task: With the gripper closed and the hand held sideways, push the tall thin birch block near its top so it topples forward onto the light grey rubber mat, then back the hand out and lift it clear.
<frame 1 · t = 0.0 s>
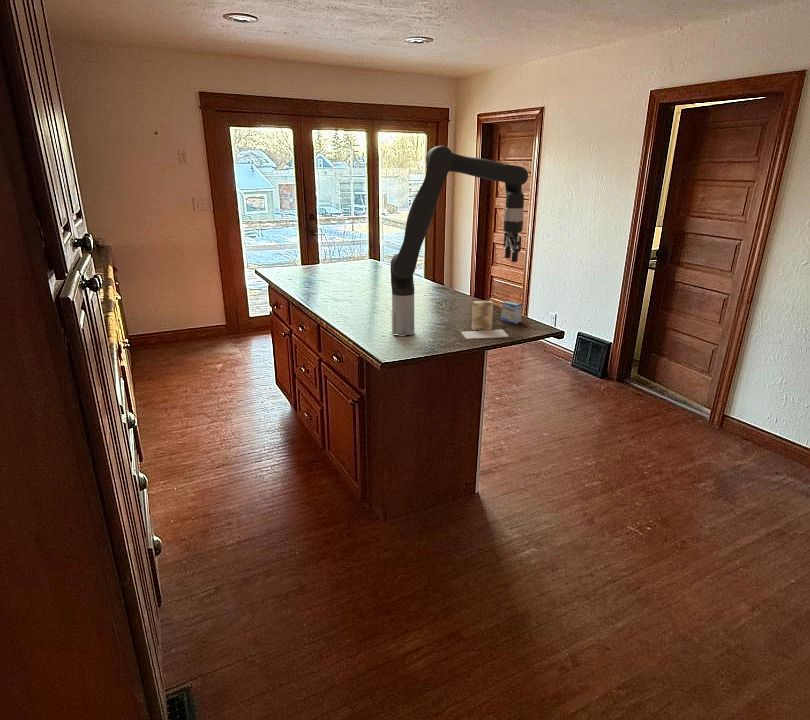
hand: (510, 260, 213), 29 cm above the worktop, tool pointing down, fingers open, 8 cm apart
grey mat: (484, 334, 215), on the worktop
medicine box: (510, 321, 233), on the worktop
birch block: (481, 329, 223), on the worktop
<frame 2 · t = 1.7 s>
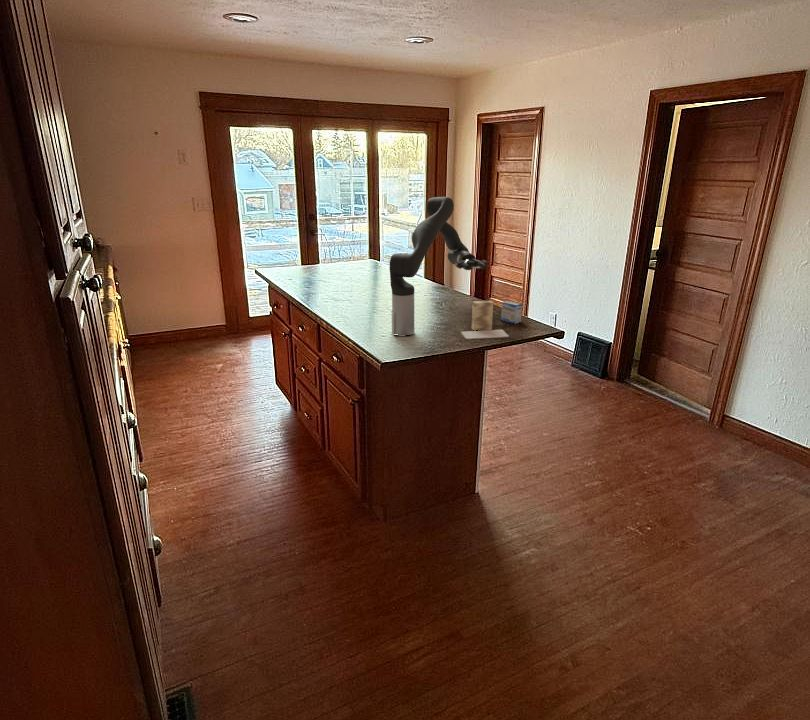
hand: (475, 267, 226), 24 cm above the worktop, tool horizontal, fingers open, 6 cm apart
nothing on the worktop moved.
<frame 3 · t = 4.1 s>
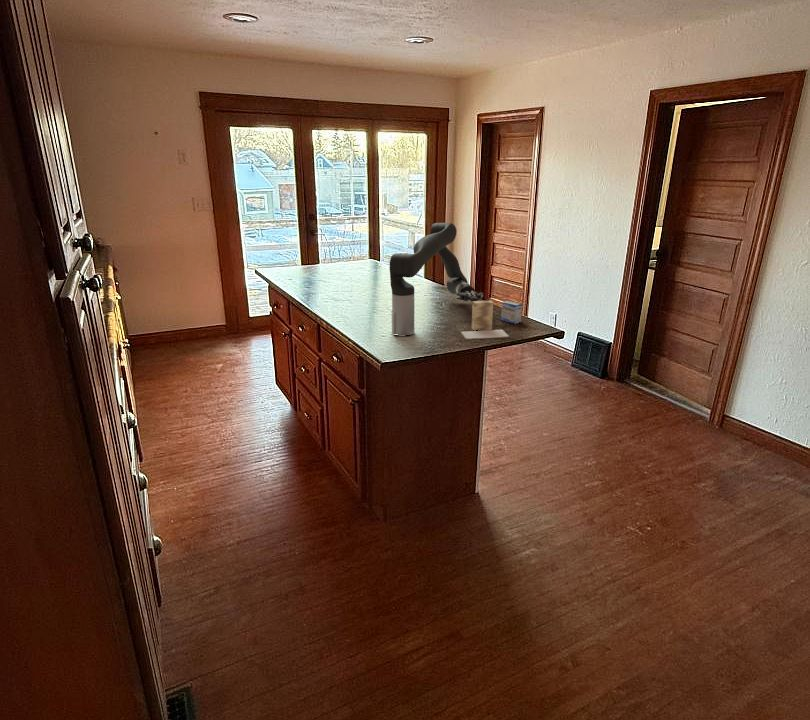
hand: (474, 300, 230), 9 cm above the worktop, tool horizontal, fingers closed
nothing on the worktop moved.
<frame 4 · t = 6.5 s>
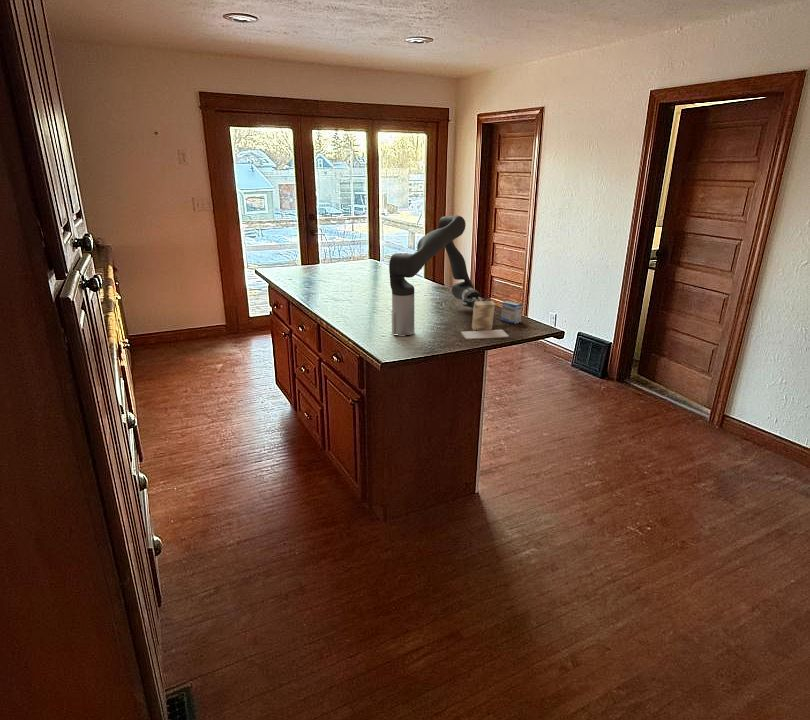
hand: (482, 307, 219), 10 cm above the worktop, tool horizontal, fingers closed
birch block: (481, 328, 223), on the worktop, tilted 12°
everything else where it was.
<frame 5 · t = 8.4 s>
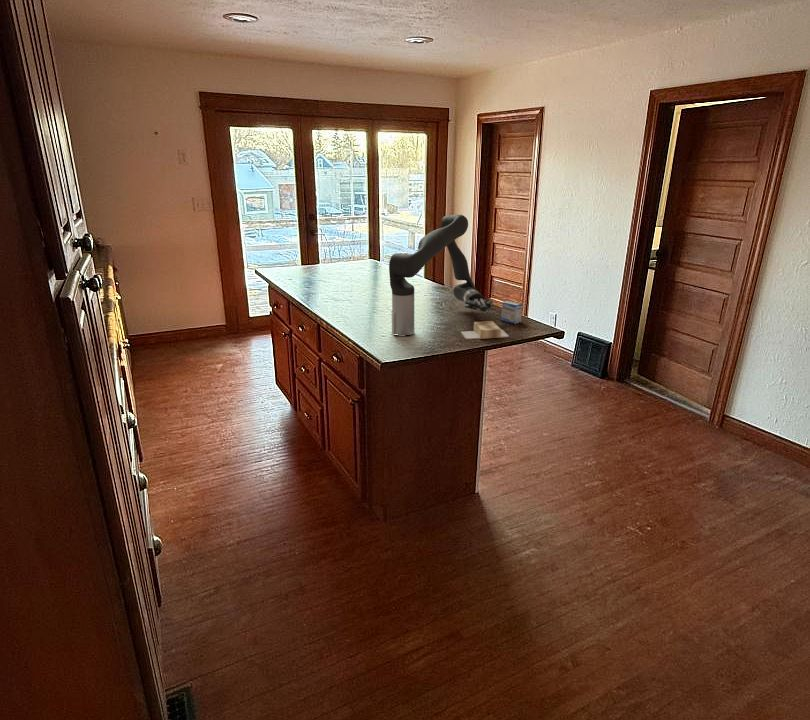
hand: (484, 309, 217), 10 cm above the worktop, tool horizontal, fingers closed
birch block: (482, 325, 220), point 2 cm above the worktop, tilted 90°, touching grey mat
everything else where it was.
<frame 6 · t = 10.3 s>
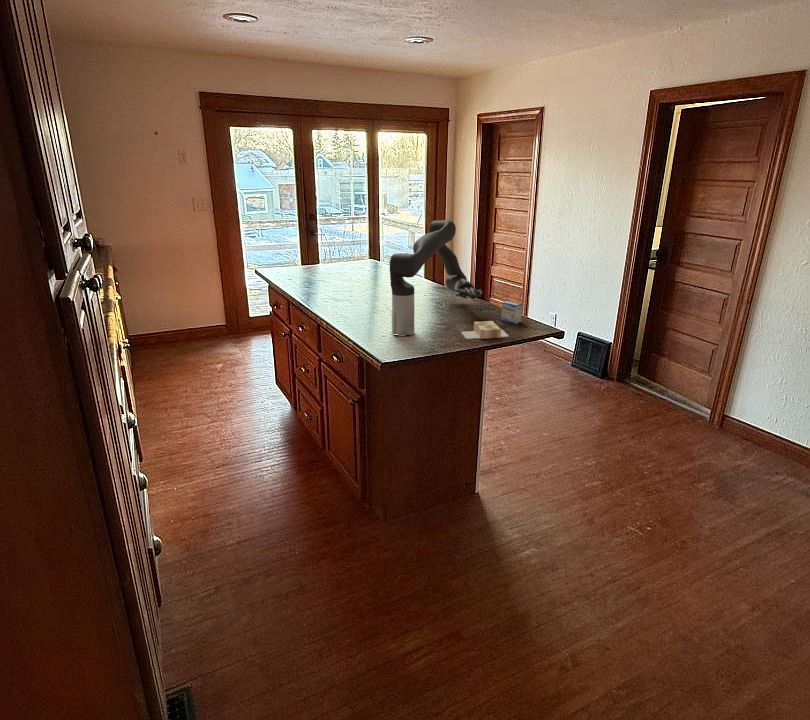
hand: (473, 296, 230), 11 cm above the worktop, tool horizontal, fingers closed
nothing on the worktop moved.
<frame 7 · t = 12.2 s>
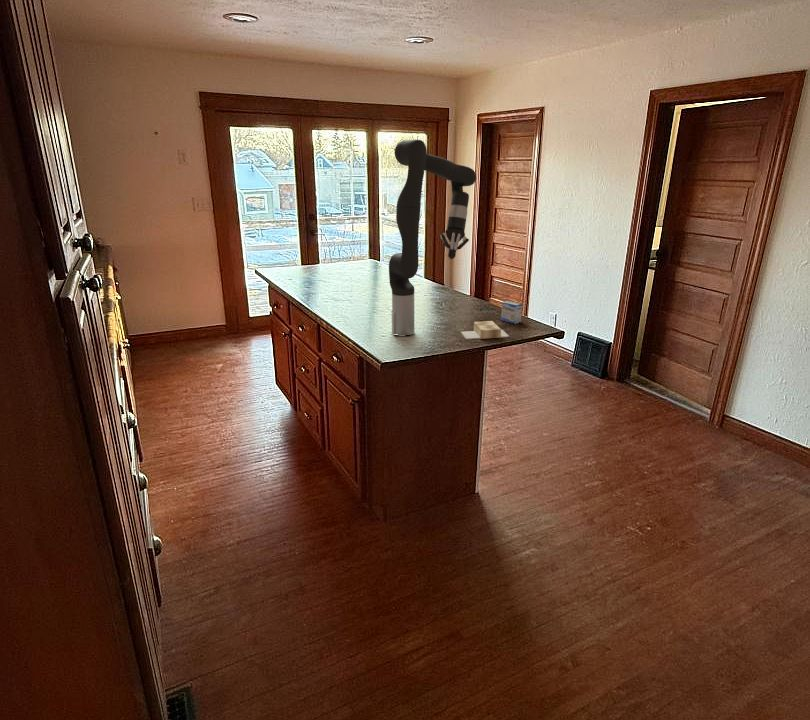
hand: (451, 258, 221), 29 cm above the worktop, tool tilted 15°, fingers closed
nothing on the worktop moved.
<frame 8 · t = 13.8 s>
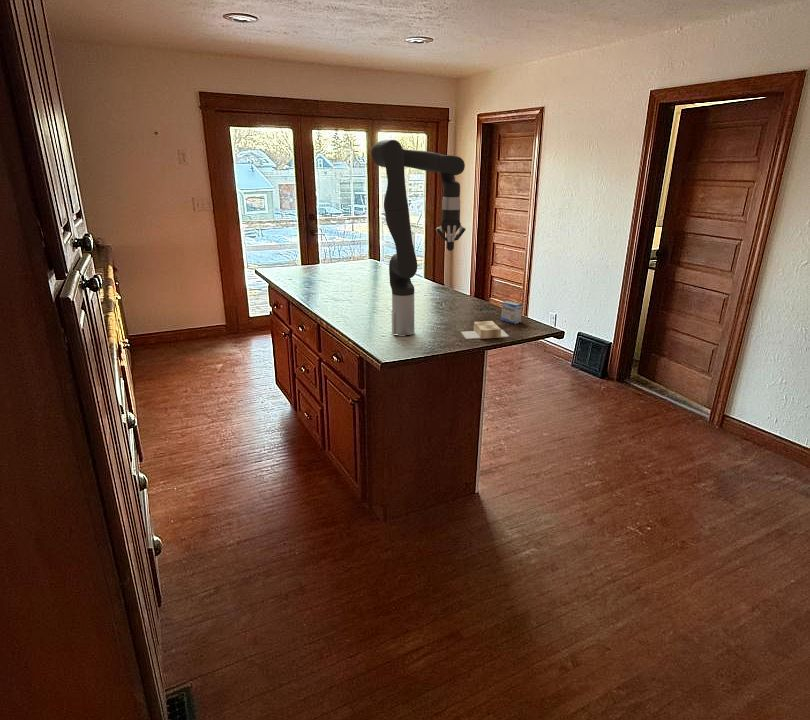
hand: (450, 250, 220), 32 cm above the worktop, tool pointing down, fingers closed
nothing on the worktop moved.
at the end: birch block tilted 90°; birch block touching grey mat; birch block inside the target area (0.8 cm from its centre), point 2.1 cm above the worktop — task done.
